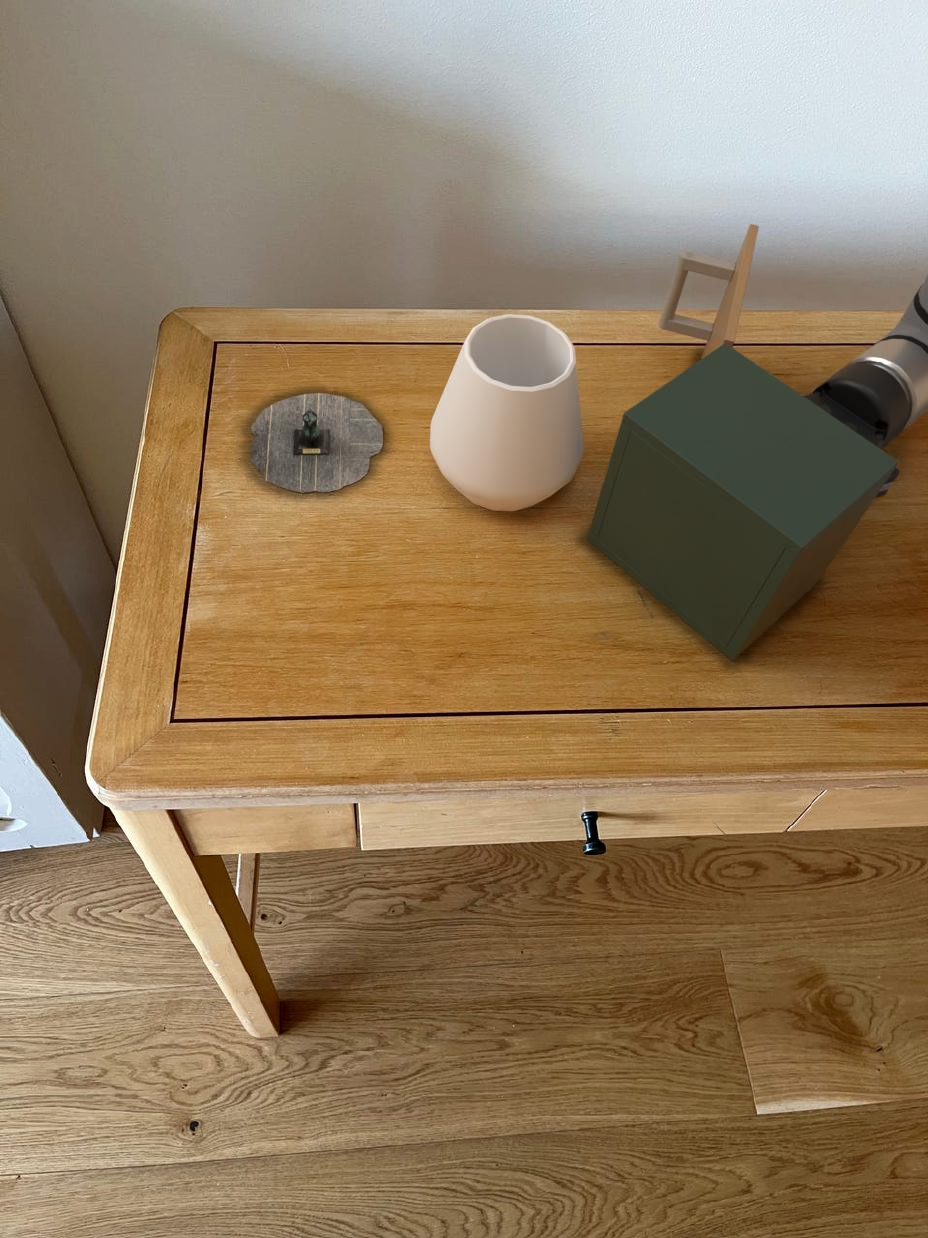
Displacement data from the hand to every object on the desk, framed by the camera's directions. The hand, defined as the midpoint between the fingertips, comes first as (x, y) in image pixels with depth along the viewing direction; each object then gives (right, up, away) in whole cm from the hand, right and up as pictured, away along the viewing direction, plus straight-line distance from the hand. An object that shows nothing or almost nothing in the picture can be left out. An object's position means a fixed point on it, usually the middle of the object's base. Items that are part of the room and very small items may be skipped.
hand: (700, 537), depth 71 cm
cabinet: (+2, -1, +9) cm, 9 cm away
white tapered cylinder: (-15, +7, +13) cm, 21 cm away
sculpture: (-31, +10, +13) cm, 35 cm away
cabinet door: (+2, +15, +19) cm, 24 cm away
